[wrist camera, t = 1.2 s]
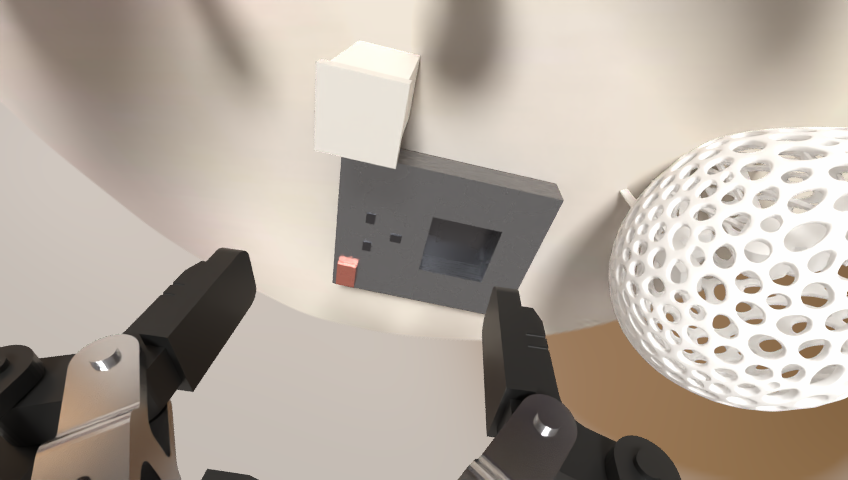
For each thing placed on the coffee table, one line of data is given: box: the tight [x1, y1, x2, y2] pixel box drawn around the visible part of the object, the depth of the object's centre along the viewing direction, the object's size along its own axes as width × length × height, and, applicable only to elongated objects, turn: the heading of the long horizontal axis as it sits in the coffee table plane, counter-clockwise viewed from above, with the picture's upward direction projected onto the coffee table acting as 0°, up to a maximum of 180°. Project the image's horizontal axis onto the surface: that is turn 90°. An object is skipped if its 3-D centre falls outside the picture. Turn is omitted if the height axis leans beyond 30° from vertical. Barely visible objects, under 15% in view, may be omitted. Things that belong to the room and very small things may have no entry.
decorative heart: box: [609, 127, 848, 411], centre depth 20 cm, size 18×11×17 cm, turn 111°
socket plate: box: [333, 148, 564, 314], centre depth 30 cm, size 16×13×3 cm
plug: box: [314, 40, 420, 169], centre depth 21 cm, size 4×4×8 cm
